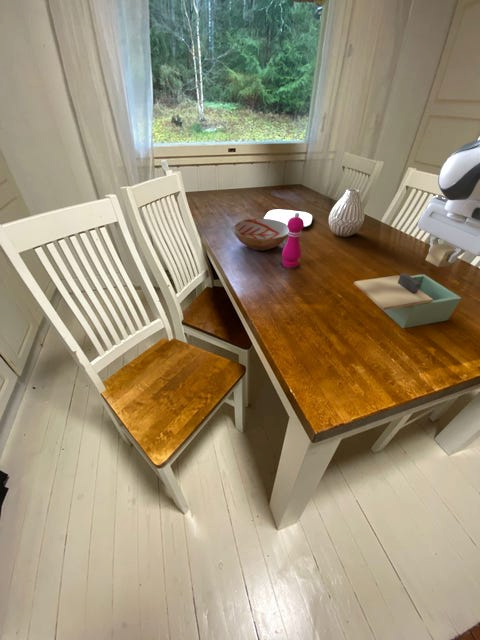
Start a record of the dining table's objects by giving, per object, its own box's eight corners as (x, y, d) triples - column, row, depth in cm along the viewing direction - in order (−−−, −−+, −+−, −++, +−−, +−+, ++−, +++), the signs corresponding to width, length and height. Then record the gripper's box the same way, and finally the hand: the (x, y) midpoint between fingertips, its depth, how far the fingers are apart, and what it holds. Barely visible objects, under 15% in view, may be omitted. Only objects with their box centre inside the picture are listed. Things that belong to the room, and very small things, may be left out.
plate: (313, 215, 156) (313, 212, 155) (309, 231, 137) (310, 227, 136) (269, 211, 161) (269, 208, 160) (260, 225, 142) (260, 222, 141)
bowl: (243, 231, 135) (243, 215, 130) (293, 239, 129) (295, 222, 124) (224, 252, 117) (223, 234, 112) (281, 261, 110) (283, 243, 105)
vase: (323, 227, 141) (331, 185, 129) (353, 228, 141) (365, 186, 128) (329, 239, 129) (339, 194, 116) (363, 240, 128) (377, 195, 116)
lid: (431, 301, 74) (438, 290, 72) (383, 310, 71) (388, 298, 69) (397, 277, 85) (402, 266, 82) (353, 283, 82) (357, 272, 79)
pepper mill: (277, 263, 109) (282, 212, 97) (289, 258, 113) (295, 208, 100) (291, 270, 105) (298, 217, 92) (302, 264, 109) (311, 213, 96)
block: (450, 265, 74) (459, 250, 71) (437, 267, 73) (445, 251, 70) (437, 258, 77) (445, 243, 75) (425, 259, 76) (432, 244, 74)
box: (447, 320, 82) (461, 298, 77) (403, 328, 78) (414, 306, 73) (413, 294, 92) (423, 274, 87) (372, 301, 89) (381, 280, 84)
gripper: (424, 193, 73) (404, 242, 81) (499, 218, 57) (464, 276, 66) (443, 192, 74) (421, 240, 83) (521, 216, 59) (484, 273, 67)
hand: (441, 256), depth 74 cm, fingers closed on block, 4 cm apart
